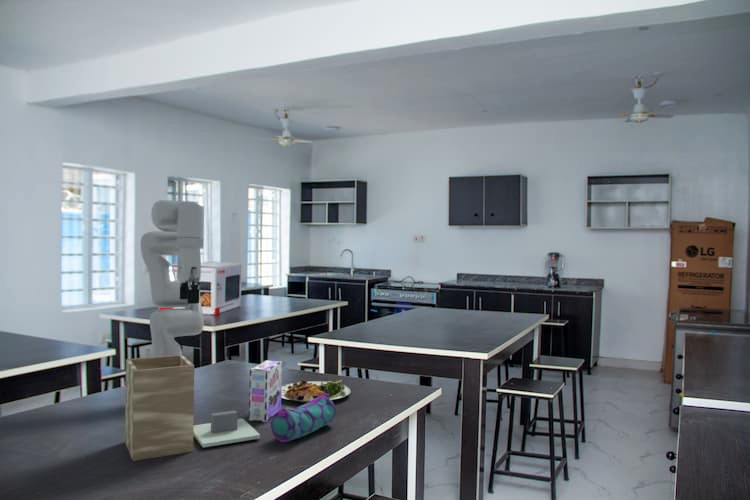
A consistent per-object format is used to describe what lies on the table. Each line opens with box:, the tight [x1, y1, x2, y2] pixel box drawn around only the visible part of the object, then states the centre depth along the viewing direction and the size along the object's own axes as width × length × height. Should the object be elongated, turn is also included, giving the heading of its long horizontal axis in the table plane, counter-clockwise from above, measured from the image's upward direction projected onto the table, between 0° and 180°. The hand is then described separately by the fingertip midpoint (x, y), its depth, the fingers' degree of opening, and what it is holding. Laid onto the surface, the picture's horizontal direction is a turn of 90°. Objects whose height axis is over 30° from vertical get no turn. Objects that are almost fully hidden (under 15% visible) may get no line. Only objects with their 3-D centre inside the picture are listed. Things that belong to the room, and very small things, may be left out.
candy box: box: [248, 359, 283, 423], centre depth 188 cm, size 14×6×16 cm, turn 168°
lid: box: [193, 409, 261, 448], centre depth 169 cm, size 16×16×7 cm
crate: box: [124, 354, 195, 462], centre depth 159 cm, size 15×15×23 cm
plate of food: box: [281, 379, 352, 403], centre depth 213 cm, size 28×28×6 cm
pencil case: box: [270, 393, 336, 443], centre depth 173 cm, size 21×9×10 cm, turn 149°
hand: (189, 301), depth 174 cm, fingers open, 9 cm apart
